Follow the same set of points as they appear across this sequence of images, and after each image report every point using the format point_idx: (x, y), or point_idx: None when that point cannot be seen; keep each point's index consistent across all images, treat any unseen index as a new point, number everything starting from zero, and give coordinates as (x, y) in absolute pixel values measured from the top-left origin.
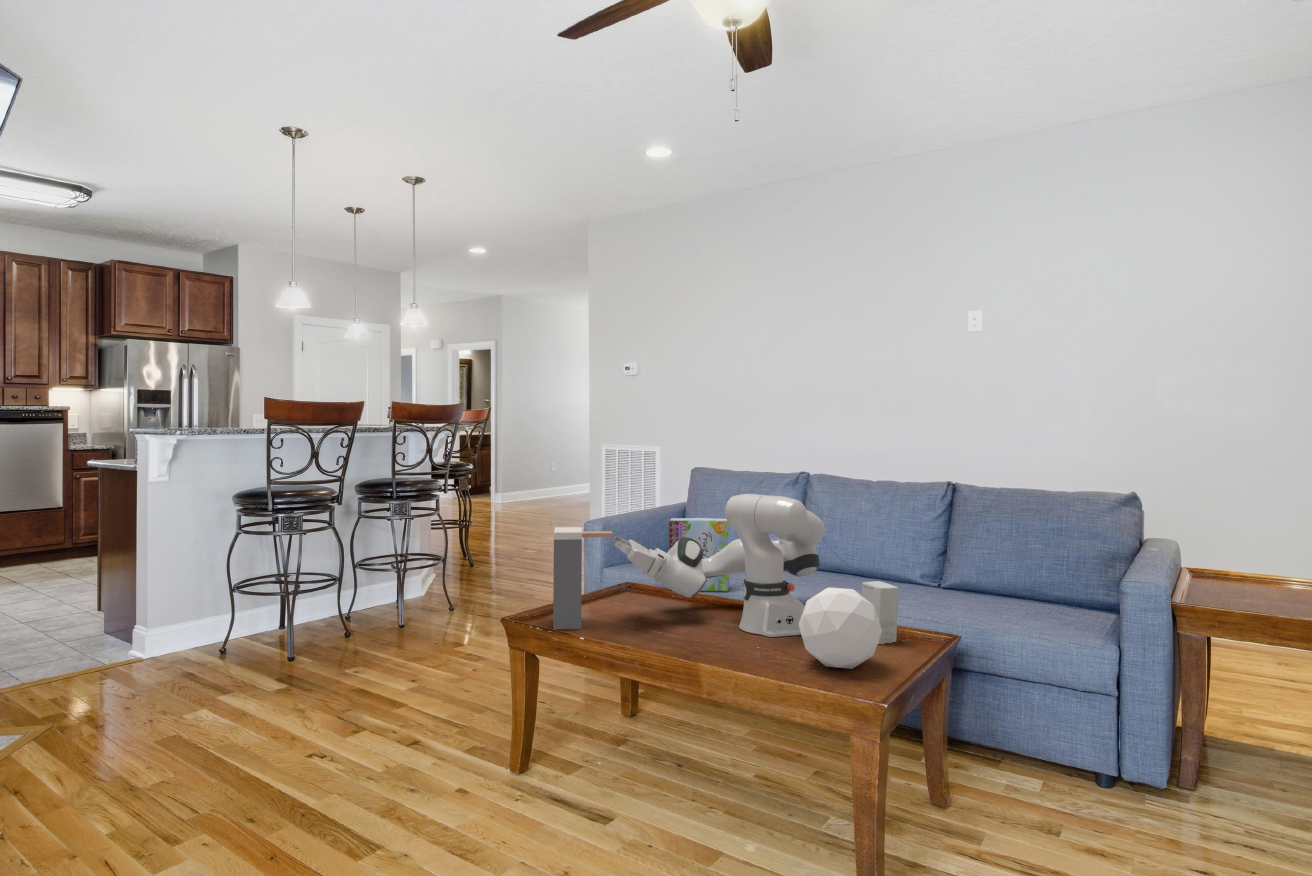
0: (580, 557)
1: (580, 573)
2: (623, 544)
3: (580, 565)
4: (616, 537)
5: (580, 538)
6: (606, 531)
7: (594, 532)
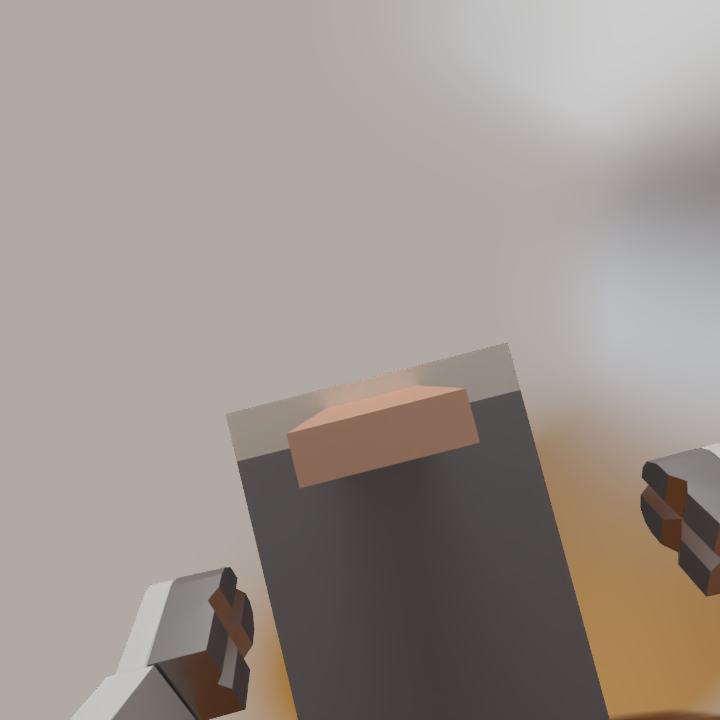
0: (268, 583)
1: (296, 696)
2: (85, 702)
3: (281, 639)
4: (657, 474)
5: (239, 453)
6: (442, 390)
7: (361, 403)
